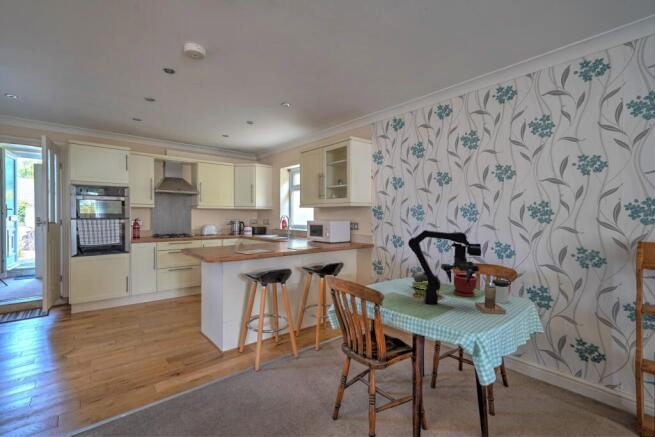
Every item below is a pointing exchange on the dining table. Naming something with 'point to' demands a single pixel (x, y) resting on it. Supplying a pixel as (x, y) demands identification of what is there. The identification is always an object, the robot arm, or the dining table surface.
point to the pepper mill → (490, 295)
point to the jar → (501, 290)
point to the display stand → (497, 309)
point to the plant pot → (464, 285)
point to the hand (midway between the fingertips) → (458, 282)
